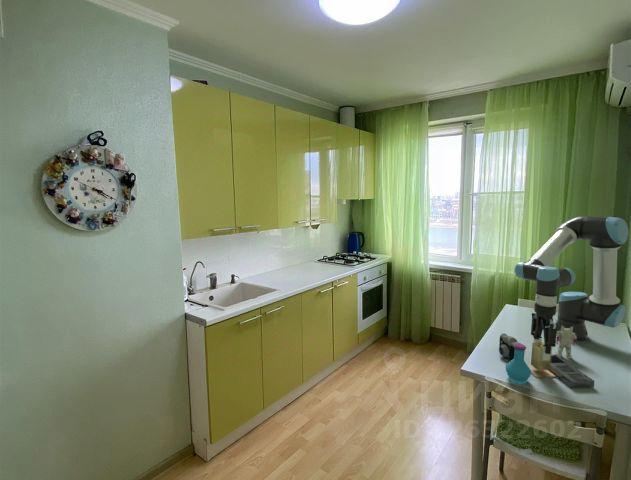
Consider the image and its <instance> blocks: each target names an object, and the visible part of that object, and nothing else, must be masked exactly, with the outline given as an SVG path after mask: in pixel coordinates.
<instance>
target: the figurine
mask: <svg viewBox="0 0 631 480" xmlns="http://www.w3.org/2000/svg"><path fill="white" fill-rule="evenodd" d="M561 330H562V331H557V333H556V345H558V349H557V351H555V354H556V355H558V356H559V357H561V358H562V356H563V353H564V348H565V353H564V354H565V357H566V358H568V359H572V355H571V354H572V346H573V347H576V346H577V344H576V343H577V342H578V341H577V340H576V339H577V337H576V334H575V333H573V332H572V331H573V327H571V328H568V329H566V328H564V327H563V326H561Z"/></svg>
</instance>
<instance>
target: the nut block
mask: <svg viewBox="0 0 631 480" xmlns="http://www.w3.org/2000/svg"><path fill="white" fill-rule="evenodd" d="M543 345H545V344H544V341H542V342H536V343H534V342H532V344H531V346H532V347H531V355H530V356H531V358H530V359H531V360H530V365H531V367H535V368H536V369H537V370H550V366H551V363H552V362H551V355H552V352H553V347H551V353H550V360H547V361H543V360H542V351H543Z"/></svg>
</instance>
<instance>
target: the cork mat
mask: <svg viewBox="0 0 631 480" xmlns="http://www.w3.org/2000/svg"><path fill="white" fill-rule="evenodd" d="M528 367H529V368H530V370H531V375H532V376H534V377H535V378H537V379H539V378H540V379H541V378H548V379H550V378H553V379H554V378H557V377H556V376H555V375H554V374H552V373H551V372H550V371H549V370H537V369H536V368H535V367H533V366H528Z"/></svg>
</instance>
